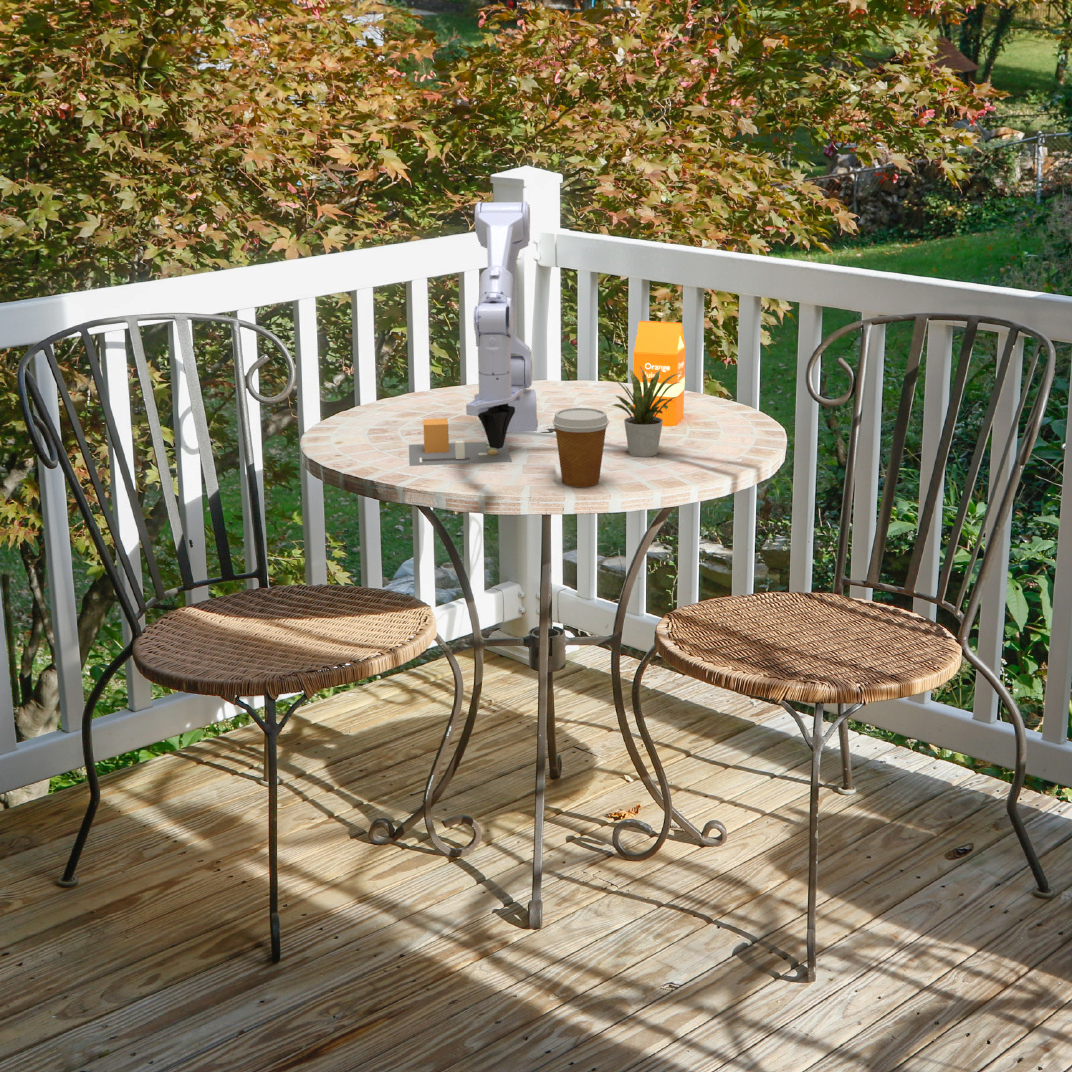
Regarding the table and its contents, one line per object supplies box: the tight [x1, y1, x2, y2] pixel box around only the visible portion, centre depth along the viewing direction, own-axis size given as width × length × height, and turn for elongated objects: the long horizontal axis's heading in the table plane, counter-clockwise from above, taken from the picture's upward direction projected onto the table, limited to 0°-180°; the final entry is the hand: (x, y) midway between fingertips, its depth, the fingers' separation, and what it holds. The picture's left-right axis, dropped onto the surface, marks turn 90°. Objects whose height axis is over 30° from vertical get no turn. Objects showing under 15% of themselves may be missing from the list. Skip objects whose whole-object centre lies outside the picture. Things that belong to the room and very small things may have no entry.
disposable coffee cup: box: [552, 407, 610, 488], centre depth 221 cm, size 10×10×12 cm
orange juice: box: [632, 320, 686, 427], centre depth 260 cm, size 8×9×20 cm
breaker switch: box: [454, 439, 465, 459], centre depth 232 cm, size 2×2×3 cm
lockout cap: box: [422, 417, 450, 453], centre depth 238 cm, size 4×4×5 cm
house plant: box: [606, 365, 683, 458], centre depth 237 cm, size 14×14×16 cm
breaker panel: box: [408, 440, 513, 467], centre depth 236 cm, size 18×14×2 cm
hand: (496, 447), depth 232 cm, fingers closed
